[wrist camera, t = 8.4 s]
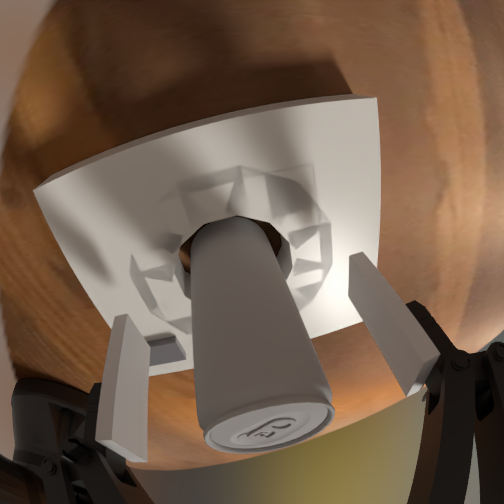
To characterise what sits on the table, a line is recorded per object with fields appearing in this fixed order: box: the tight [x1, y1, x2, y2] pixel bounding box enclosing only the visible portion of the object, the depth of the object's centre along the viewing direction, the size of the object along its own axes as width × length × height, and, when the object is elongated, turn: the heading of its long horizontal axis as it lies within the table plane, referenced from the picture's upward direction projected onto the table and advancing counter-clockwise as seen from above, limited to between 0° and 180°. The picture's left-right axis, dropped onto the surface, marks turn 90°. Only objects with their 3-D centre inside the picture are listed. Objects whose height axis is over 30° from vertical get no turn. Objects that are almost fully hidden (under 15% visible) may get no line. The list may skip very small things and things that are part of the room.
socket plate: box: [33, 94, 381, 376], centre depth 17 cm, size 18×16×3 cm
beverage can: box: [191, 217, 335, 454], centre depth 13 cm, size 5×5×12 cm
